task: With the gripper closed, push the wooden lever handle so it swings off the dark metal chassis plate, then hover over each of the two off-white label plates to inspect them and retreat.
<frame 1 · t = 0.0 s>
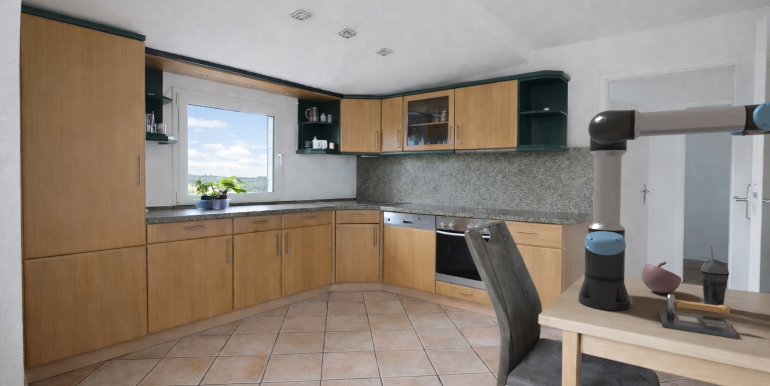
wooden lever handle: (702, 306, 113), point 6 cm above the table, hinge at 0.0°
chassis: (694, 324, 114), on the table
beverage cup: (713, 308, 129), on the table
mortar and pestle: (660, 293, 146), on the table
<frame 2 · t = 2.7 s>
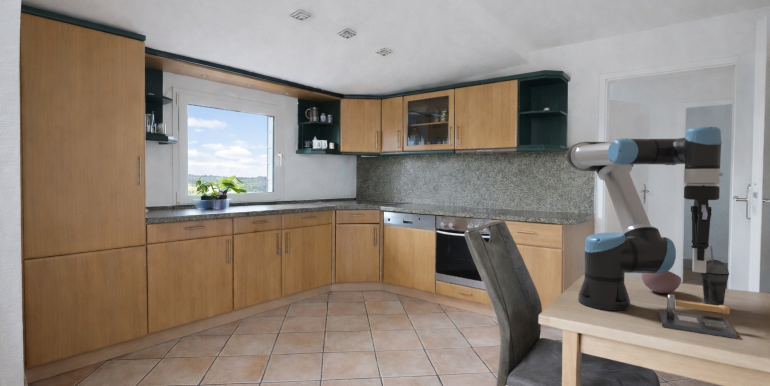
hand: (699, 271, 109), 16 cm above the table, fingers closed
nothing on the table moved.
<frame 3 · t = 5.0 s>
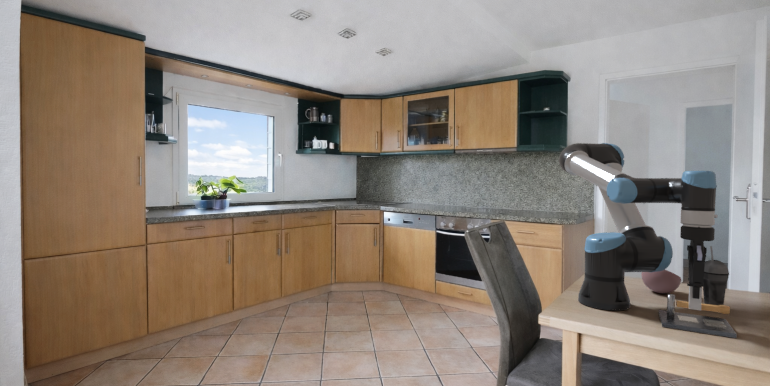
hand: (694, 309, 113), 5 cm above the table, fingers closed
wooden lever handle: (702, 306, 113), point 6 cm above the table, hinge at 0.7°, touching gripper
everything else where it was.
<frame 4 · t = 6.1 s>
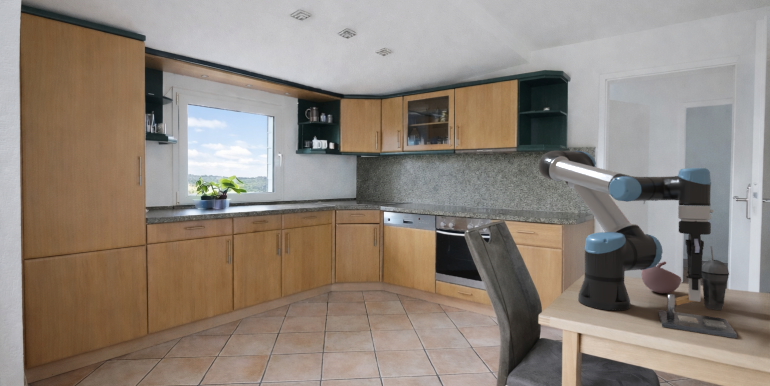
hand: (694, 300, 118), 6 cm above the table, fingers closed
wooden lever handle: (684, 299, 120), point 6 cm above the table, hinge at 57.1°, touching gripper
everything else where it was.
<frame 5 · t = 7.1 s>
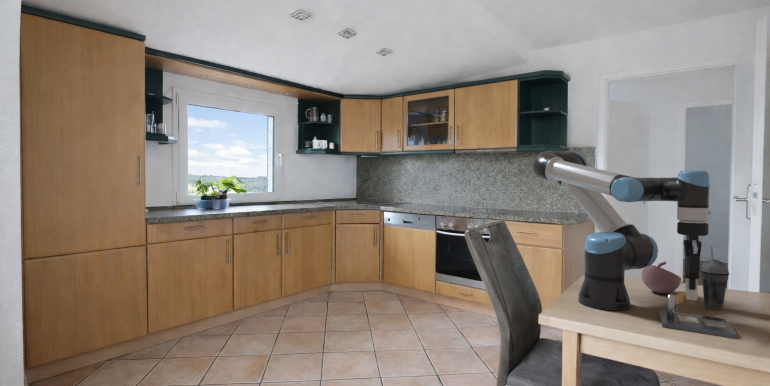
hand: (691, 299, 121), 5 cm above the table, fingers closed
wooden lever handle: (678, 298, 121), point 5 cm above the table, hinge at 69.8°, touching gripper
everything else where it was.
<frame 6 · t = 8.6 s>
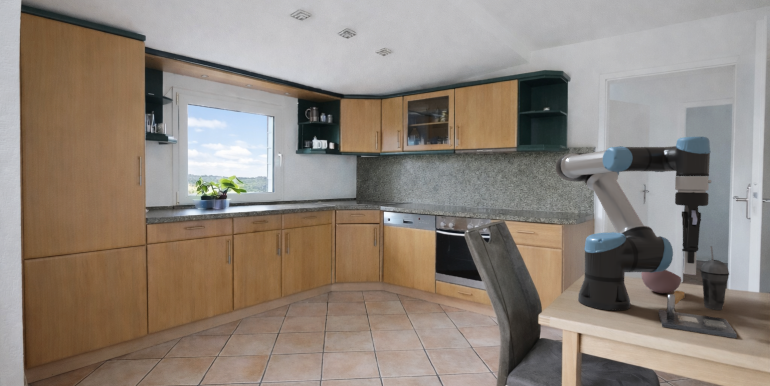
hand: (689, 273, 114), 14 cm above the table, fingers closed
wooden lever handle: (676, 297, 122), point 6 cm above the table, hinge at 74.5°
everything else where it was.
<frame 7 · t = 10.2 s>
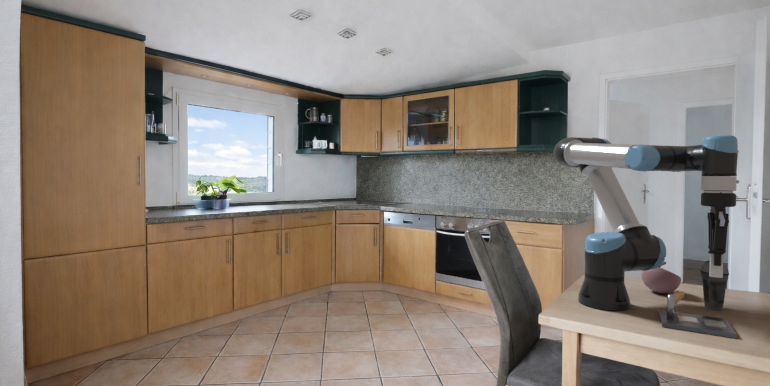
hand: (715, 276, 111), 14 cm above the table, fingers closed
nothing on the table moved.
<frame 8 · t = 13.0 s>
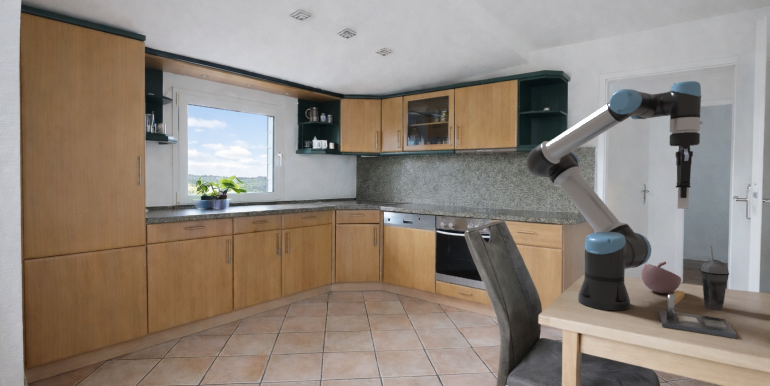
hand: (682, 208, 125), 32 cm above the table, fingers closed
nothing on the table moved.
at the end: wooden lever handle at +74° (first picture: +0°); wooden lever handle touching nothing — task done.
